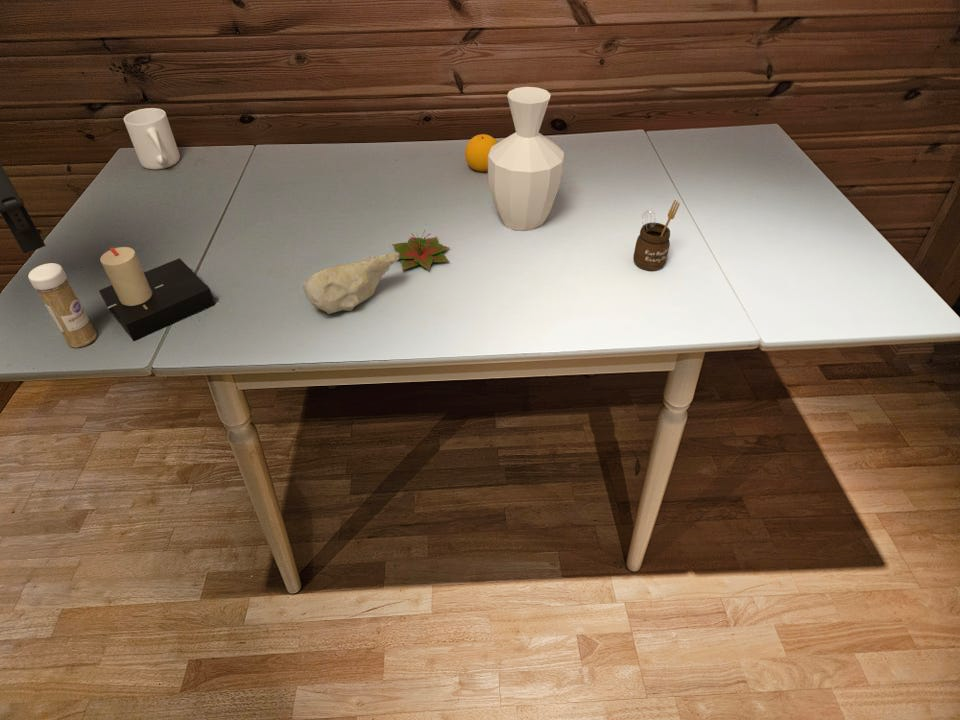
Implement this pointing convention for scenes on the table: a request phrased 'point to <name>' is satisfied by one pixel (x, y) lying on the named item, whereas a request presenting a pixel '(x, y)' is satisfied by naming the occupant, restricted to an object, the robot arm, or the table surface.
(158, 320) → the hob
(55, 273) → the sprinkles bottle
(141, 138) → the mug
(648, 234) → the utensil holder
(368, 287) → the chicken drumstick
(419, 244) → the lily flower
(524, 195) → the vase
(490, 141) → the orange fruit
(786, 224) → the table surface
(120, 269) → the hob knob
